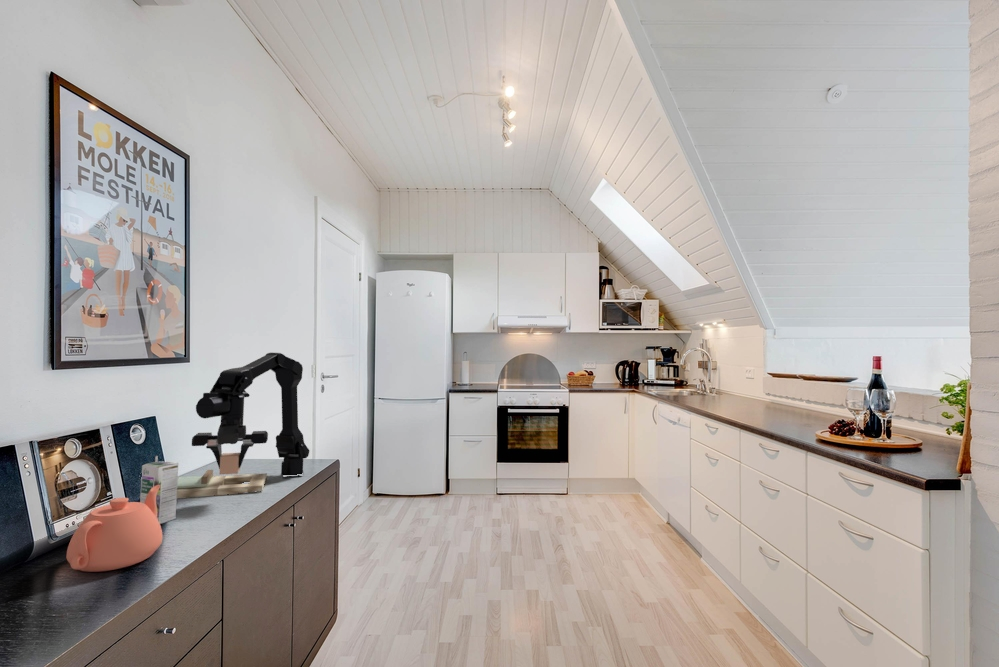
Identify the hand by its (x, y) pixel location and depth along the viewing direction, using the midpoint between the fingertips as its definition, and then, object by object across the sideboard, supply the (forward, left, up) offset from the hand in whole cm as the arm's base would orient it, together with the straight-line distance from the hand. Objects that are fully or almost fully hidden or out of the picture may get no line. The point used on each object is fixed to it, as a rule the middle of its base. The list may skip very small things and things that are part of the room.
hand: (230, 468), depth 140 cm
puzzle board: (+4, -14, -9) cm, 17 cm away
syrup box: (+14, +13, -10) cm, 21 cm away
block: (0, 0, -1) cm, 1 cm away
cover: (+13, -14, -7) cm, 20 cm away
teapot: (+15, +35, -10) cm, 39 cm away
